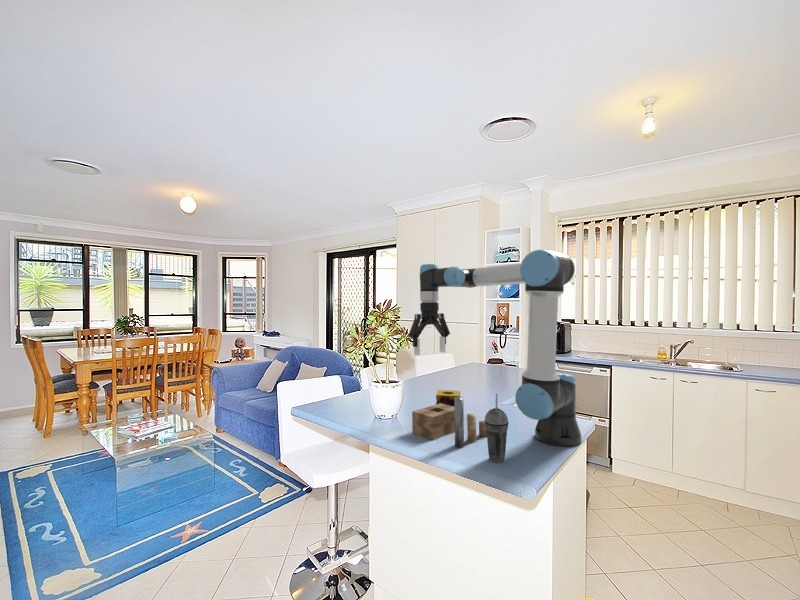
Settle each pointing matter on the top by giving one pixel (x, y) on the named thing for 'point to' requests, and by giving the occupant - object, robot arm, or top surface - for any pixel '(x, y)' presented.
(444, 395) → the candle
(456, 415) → the long pin
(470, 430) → the medium pin
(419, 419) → the hole block
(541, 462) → the top surface
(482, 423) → the short pin
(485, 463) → the top surface
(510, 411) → the top surface
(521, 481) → the top surface
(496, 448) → the beverage cup
